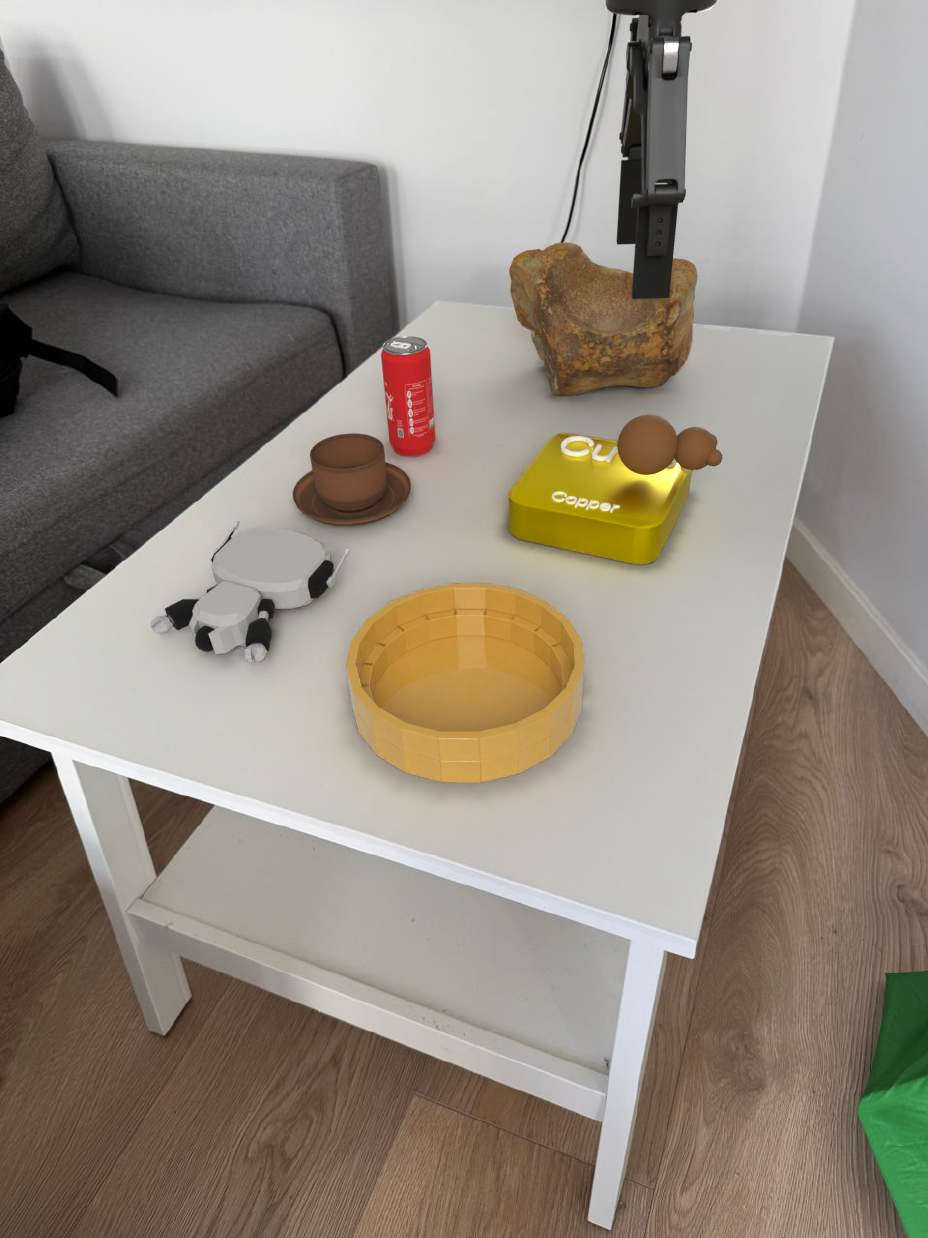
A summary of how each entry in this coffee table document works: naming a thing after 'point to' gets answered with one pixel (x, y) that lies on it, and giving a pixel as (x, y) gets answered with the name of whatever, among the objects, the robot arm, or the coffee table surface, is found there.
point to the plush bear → (665, 446)
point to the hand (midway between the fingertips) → (640, 268)
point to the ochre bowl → (466, 681)
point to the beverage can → (408, 395)
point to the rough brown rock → (600, 320)
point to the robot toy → (253, 589)
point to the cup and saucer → (350, 482)
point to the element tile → (596, 501)
